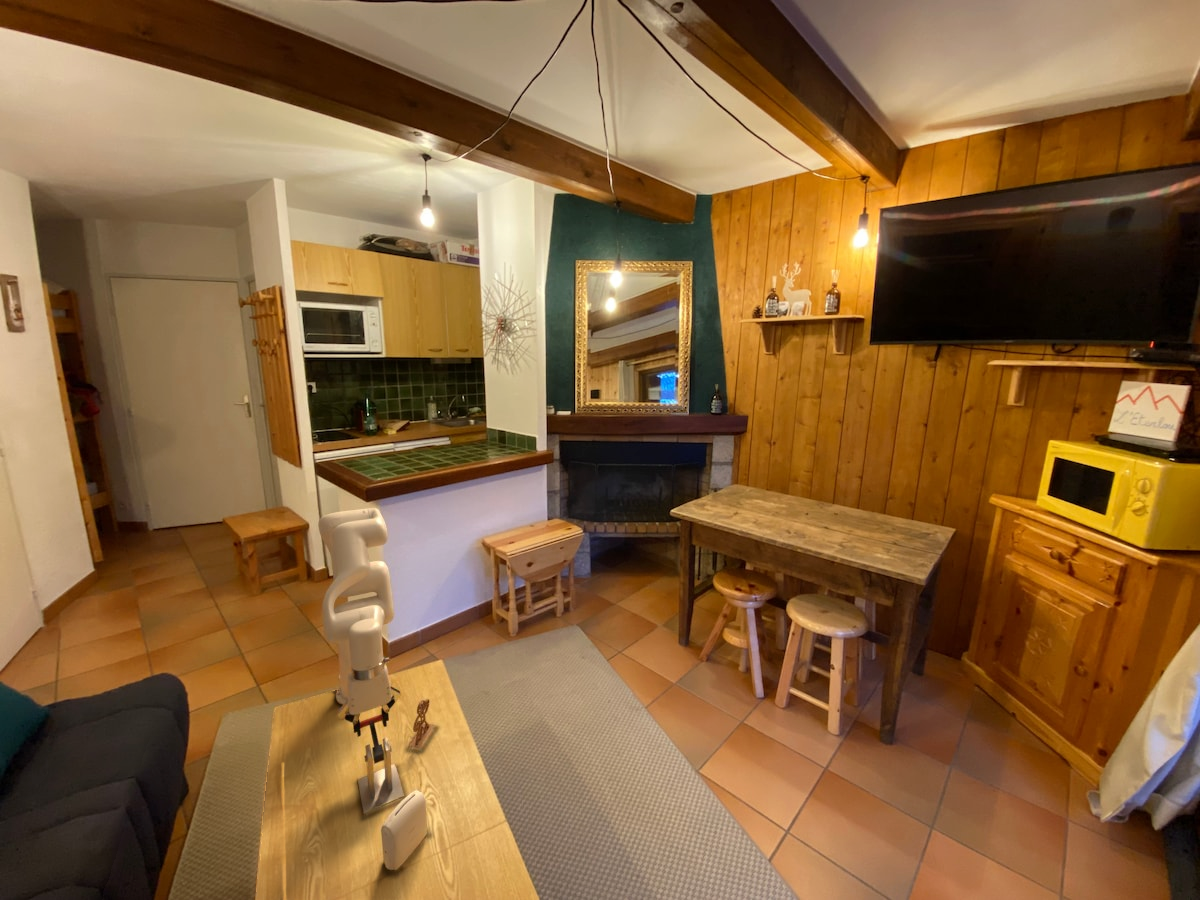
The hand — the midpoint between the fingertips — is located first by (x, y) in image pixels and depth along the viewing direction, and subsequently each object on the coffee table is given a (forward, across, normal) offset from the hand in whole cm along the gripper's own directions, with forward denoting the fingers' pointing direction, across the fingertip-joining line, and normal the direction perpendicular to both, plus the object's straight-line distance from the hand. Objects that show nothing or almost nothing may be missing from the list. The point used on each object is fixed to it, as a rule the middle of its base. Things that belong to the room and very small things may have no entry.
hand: (371, 727), depth 126 cm
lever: (0, 0, +5) cm, 5 cm away
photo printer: (+11, -2, +29) cm, 31 cm away
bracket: (+11, 0, +10) cm, 15 cm away
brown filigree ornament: (+11, -13, -2) cm, 17 cm away
